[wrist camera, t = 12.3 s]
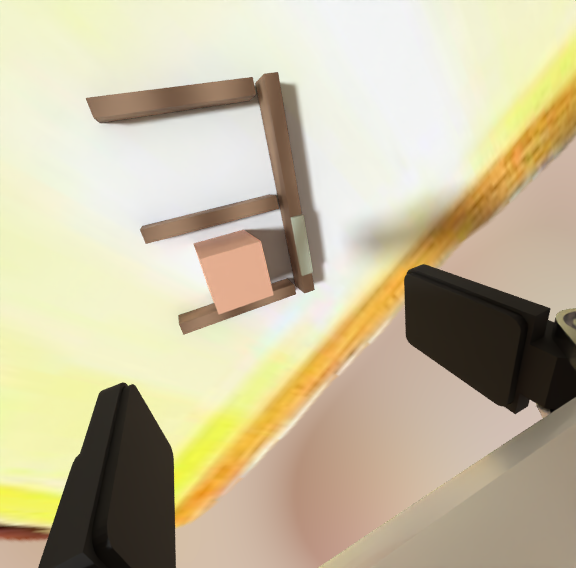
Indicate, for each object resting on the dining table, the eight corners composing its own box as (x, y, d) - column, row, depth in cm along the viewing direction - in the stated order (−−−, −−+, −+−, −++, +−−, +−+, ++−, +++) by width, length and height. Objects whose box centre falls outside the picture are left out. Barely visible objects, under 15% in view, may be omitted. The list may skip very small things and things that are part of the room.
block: (243, 229, 28) (260, 241, 23) (255, 274, 30) (273, 295, 25) (193, 243, 27) (199, 259, 22) (209, 289, 29) (218, 314, 24)
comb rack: (268, 81, 25) (279, 70, 22) (304, 282, 33) (316, 291, 30) (92, 104, 21) (82, 94, 18) (182, 325, 29) (183, 339, 27)
